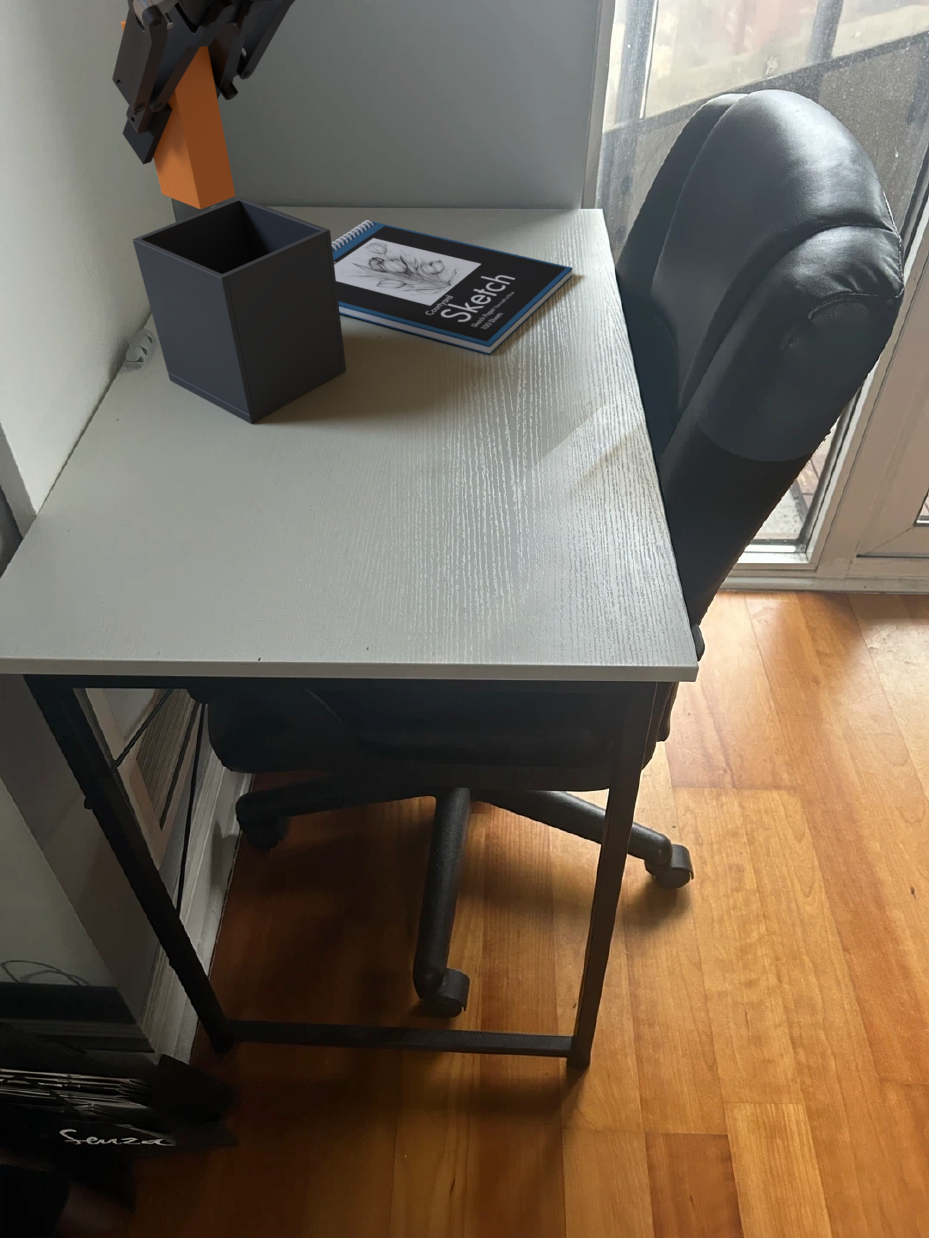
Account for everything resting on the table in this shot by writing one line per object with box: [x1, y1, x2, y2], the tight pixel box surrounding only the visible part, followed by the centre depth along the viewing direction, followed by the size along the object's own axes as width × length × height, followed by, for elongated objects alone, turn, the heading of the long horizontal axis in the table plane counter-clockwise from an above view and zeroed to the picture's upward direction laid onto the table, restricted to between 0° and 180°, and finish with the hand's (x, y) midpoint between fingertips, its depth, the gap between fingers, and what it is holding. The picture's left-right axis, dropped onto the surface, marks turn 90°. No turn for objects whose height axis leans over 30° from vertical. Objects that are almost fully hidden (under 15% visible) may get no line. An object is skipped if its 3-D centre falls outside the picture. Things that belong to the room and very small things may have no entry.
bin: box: [132, 196, 347, 424], centre depth 94 cm, size 13×13×15 cm
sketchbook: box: [331, 219, 574, 356], centre depth 113 cm, size 22×30×2 cm
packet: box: [120, 20, 236, 210], centre depth 71 cm, size 4×5×12 cm
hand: (159, 140), depth 75 cm, fingers closed on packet, 3 cm apart
